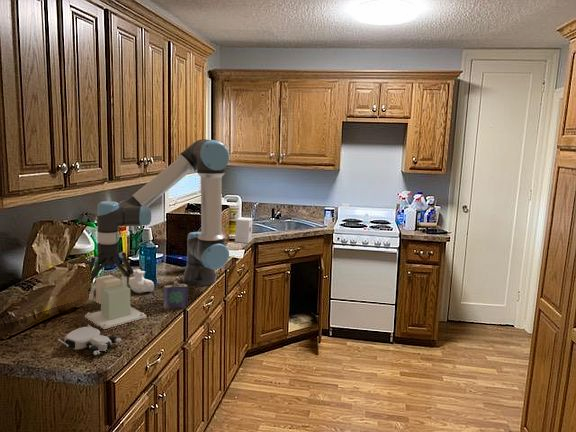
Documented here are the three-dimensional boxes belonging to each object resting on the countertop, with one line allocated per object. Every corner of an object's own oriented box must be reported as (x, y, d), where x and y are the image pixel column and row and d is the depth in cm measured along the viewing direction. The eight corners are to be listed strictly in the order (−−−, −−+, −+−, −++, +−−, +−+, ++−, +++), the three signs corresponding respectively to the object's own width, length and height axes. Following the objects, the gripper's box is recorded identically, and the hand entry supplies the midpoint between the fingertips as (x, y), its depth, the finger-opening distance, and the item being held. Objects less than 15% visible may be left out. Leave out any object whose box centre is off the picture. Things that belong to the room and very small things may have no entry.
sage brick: (121, 309, 169) (121, 284, 168) (130, 314, 165) (130, 288, 164) (101, 315, 163) (100, 288, 162) (109, 320, 159) (109, 293, 158)
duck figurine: (127, 294, 194) (117, 279, 186) (135, 280, 199) (126, 264, 191) (152, 298, 191) (143, 283, 183) (160, 284, 196) (151, 268, 188)
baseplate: (126, 307, 175) (126, 302, 175) (146, 318, 166) (146, 313, 166) (84, 318, 163) (84, 313, 163) (104, 330, 154) (104, 325, 154)
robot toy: (123, 347, 145) (86, 334, 150) (124, 334, 145) (86, 322, 149) (95, 364, 134) (56, 350, 139) (96, 350, 133) (56, 336, 138)
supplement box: (248, 243, 288) (249, 220, 285) (234, 242, 289) (235, 219, 287) (252, 240, 297) (253, 217, 294) (238, 239, 298) (239, 216, 296)
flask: (163, 309, 175) (163, 282, 173) (163, 306, 178) (163, 280, 176) (188, 308, 178) (188, 281, 176) (187, 305, 181) (187, 279, 179)
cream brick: (110, 298, 183) (110, 274, 181) (121, 304, 178) (120, 279, 176) (96, 302, 178) (95, 277, 177) (106, 308, 173) (105, 283, 171)
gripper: (132, 236, 185) (132, 286, 189) (70, 244, 167) (71, 299, 170) (142, 240, 181) (142, 291, 184) (79, 248, 162) (80, 305, 166)
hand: (108, 295), depth 177 cm, fingers open, 13 cm apart
